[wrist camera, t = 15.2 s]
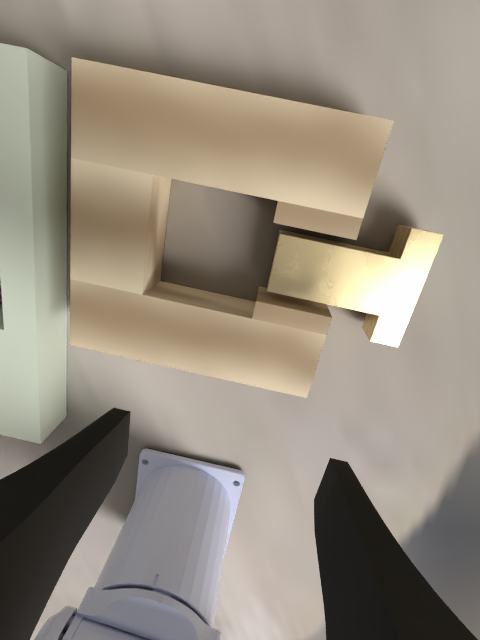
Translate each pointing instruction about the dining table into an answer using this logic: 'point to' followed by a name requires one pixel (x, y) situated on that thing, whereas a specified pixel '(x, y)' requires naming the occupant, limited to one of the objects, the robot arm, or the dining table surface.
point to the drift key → (358, 276)
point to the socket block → (214, 171)
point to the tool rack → (32, 244)
